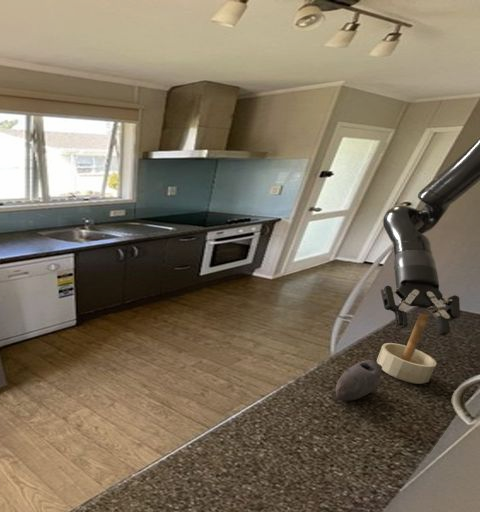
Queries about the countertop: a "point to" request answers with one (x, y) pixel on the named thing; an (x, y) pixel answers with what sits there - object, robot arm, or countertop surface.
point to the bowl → (406, 364)
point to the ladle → (415, 336)
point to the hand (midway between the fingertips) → (422, 330)
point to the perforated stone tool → (359, 380)
